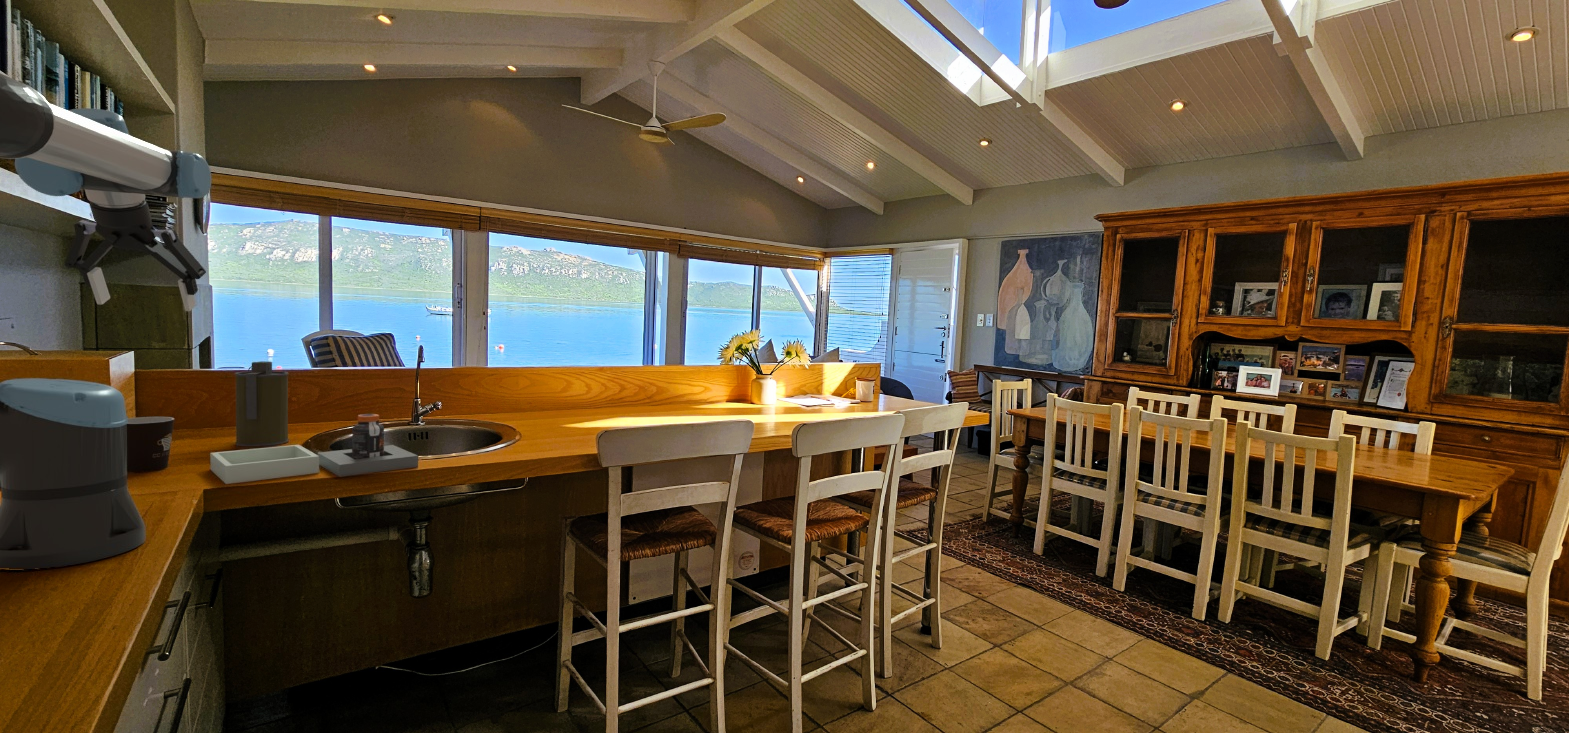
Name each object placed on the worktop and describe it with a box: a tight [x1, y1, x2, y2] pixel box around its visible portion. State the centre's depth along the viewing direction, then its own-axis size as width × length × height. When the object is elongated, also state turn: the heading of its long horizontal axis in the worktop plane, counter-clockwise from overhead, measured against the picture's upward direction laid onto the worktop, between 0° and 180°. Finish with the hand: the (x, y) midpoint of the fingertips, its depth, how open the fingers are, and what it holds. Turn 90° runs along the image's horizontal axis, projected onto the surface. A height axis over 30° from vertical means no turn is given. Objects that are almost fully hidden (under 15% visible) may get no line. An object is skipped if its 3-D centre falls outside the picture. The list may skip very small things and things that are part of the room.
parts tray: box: [209, 444, 320, 485], centre depth 136 cm, size 15×15×4 cm
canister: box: [234, 360, 290, 448], centre depth 162 cm, size 11×10×20 cm
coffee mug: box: [126, 416, 175, 474], centre depth 135 cm, size 12×9×10 cm
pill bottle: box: [351, 413, 385, 459], centre depth 145 cm, size 6×6×11 cm
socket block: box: [317, 444, 419, 478], centre depth 145 cm, size 15×15×2 cm
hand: (148, 304), depth 129 cm, fingers open, 13 cm apart
